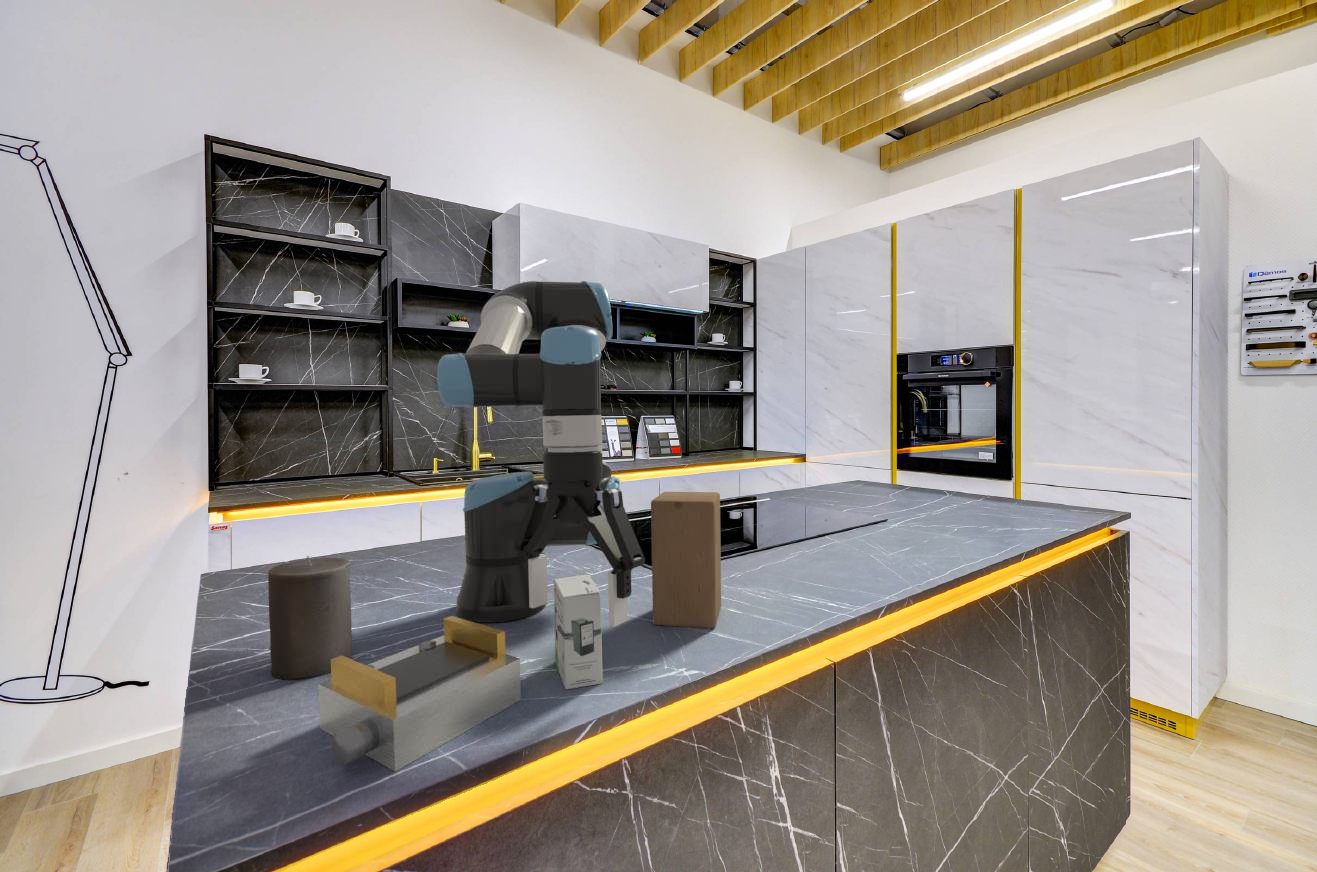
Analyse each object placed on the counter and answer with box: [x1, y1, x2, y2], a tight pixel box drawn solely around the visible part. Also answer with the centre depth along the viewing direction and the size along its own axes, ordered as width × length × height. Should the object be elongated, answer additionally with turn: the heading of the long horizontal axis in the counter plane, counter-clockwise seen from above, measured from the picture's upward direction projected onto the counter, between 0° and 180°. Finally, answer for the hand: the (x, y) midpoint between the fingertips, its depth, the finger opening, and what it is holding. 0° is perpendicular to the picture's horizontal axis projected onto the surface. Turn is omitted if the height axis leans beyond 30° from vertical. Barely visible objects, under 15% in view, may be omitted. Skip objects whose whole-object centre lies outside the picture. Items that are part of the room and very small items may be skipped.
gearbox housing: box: [318, 615, 522, 772], centre depth 64 cm, size 14×19×8 cm
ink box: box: [553, 574, 604, 690], centre depth 75 cm, size 9×5×12 cm, turn 19°
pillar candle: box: [267, 555, 353, 681], centre depth 79 cm, size 10×10×15 cm
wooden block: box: [650, 491, 722, 629], centre depth 94 cm, size 10×10×20 cm
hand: (576, 613), depth 74 cm, fingers open, 13 cm apart
